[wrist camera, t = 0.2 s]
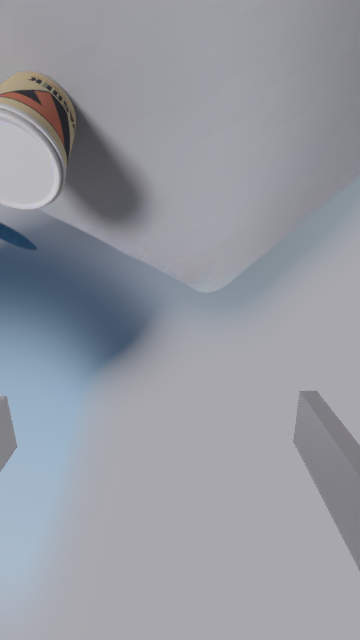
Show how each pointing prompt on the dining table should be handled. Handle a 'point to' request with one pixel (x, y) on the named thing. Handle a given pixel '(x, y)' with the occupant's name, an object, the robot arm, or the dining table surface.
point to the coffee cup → (34, 140)
